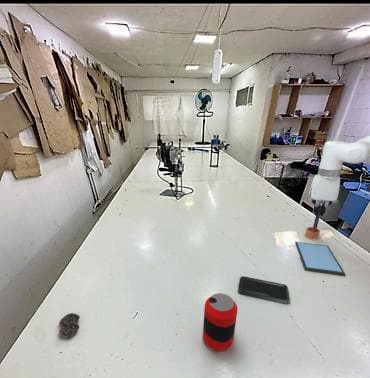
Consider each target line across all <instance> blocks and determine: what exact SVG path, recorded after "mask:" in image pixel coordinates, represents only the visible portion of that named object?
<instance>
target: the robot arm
mask: <svg viewBox="0 0 370 378" xmlns="http://www.w3.org/2000/svg"><path fill="white" fill-rule="evenodd" d="M369 157H370V135H366V136H365V137H363V138H361V139H359V140H356V141H355V142H346V141H344V140H343V141H342V140H328V141H326V142H325V143H324V146H323V150H322V155H321V159H320V163H319V168H318V172H317V174H315V175H314V177H313V179H312V182H311V185H310V188H309V191H308V196H307V197H306V201H308V202H310V203H312V204H313V205H314V206H313V210H312V213H313V214H314V216H315V217H316V216H317V215H318V211H319V202H320V201H323V202H322V203H323V206H322V210H321V214H320V217H323V216H324V215H325V213H326V209H327V208H328V207H329V206H330V205H332V204H337V203H338V202H339V200H338V196H339V194H340V193H339V192H340V188H341V187H340V186H341V177H340V176H341V175H344V174H345V172H344V170H342V166H343V163H348V164H354V165H355V164H356V165H357V164H361V163H363V162H364V161H366V160H367V159H368V158H369Z"/></svg>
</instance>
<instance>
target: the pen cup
mask: <svg viewBox="0 0 370 378" xmlns="http://www.w3.org/2000/svg"><path fill="white" fill-rule="evenodd" d="M320 234H321V230H320V229H319V228H317V229H315V228H313V226H308V227H306V229H305V233H304V237H305V238H307V239H310V240H314V241H315V240H318V239H319V238H320Z"/></svg>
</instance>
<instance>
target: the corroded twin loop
mask: <svg viewBox="0 0 370 378" xmlns="http://www.w3.org/2000/svg"><path fill="white" fill-rule="evenodd" d="M80 318H81V316H80V315H79V314H77V313H74V312H73V313H71V312H70V313H67V314H65V315H63V317H62V318H61V319H60V320H59V322H58V325H59V326H61V328H60V329H59V330H58V334H59V335H60V336H61V337H63V338H69V339H70V338H71V337H74V335H75V334H76V333H77V332H78V331H79V329H80V324H78V322H79V320H80Z"/></svg>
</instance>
